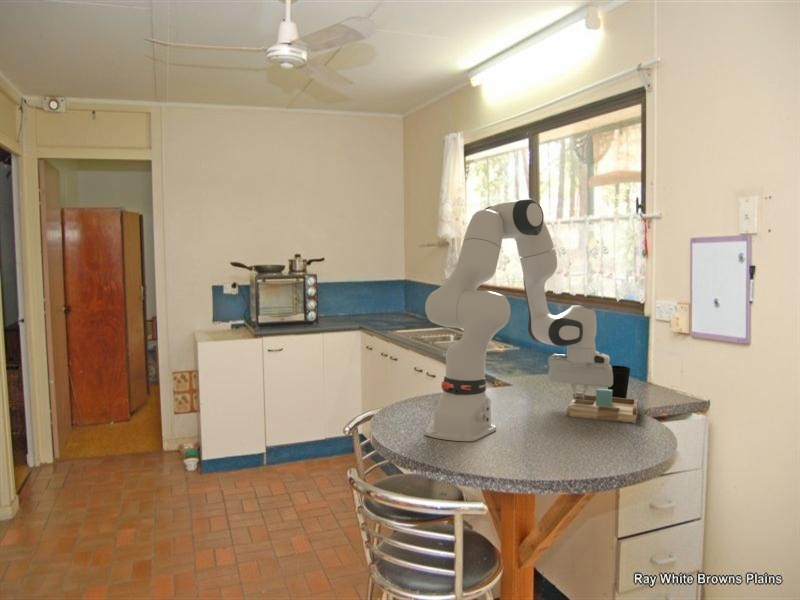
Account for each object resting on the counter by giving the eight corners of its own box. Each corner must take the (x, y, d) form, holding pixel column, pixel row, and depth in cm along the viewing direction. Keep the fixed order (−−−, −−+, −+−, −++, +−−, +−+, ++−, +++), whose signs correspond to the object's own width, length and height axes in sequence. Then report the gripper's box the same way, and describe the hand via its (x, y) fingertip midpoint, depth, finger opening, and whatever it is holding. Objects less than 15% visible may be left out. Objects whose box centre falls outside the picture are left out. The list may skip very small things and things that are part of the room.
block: (610, 406, 196) (611, 392, 196) (595, 405, 198) (596, 390, 198) (611, 403, 200) (612, 389, 200) (597, 402, 202) (597, 388, 202)
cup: (625, 399, 218) (627, 365, 218) (631, 404, 211) (633, 369, 210) (603, 399, 219) (604, 365, 219) (608, 403, 212) (609, 368, 211)
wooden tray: (635, 423, 186) (636, 408, 185) (566, 415, 193) (567, 401, 193) (637, 411, 200) (638, 398, 200) (573, 405, 208) (573, 392, 208)
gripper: (546, 354, 202) (545, 396, 203) (613, 359, 195) (611, 403, 195) (549, 352, 208) (548, 393, 209) (614, 356, 200) (612, 399, 201)
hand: (579, 398), depth 202 cm, fingers closed
